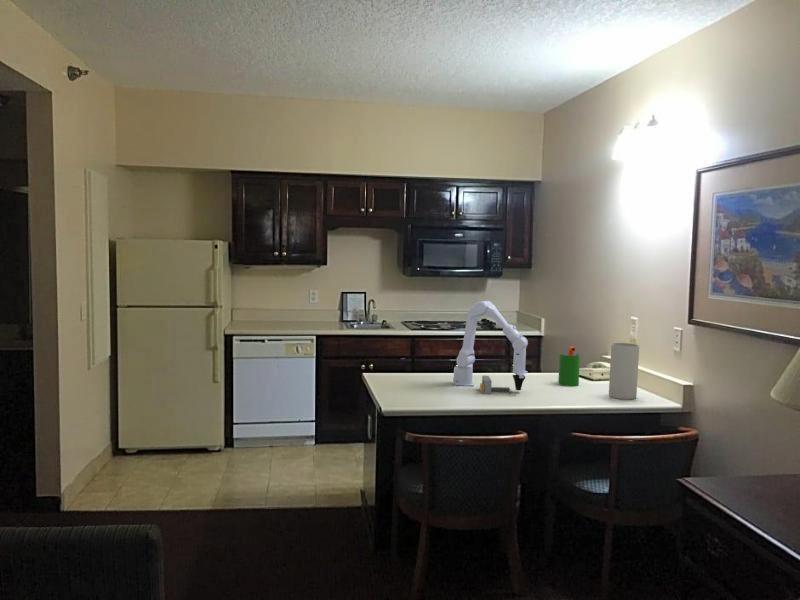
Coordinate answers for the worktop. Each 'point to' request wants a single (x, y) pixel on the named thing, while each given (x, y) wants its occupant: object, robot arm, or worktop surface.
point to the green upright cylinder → (569, 368)
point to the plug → (495, 389)
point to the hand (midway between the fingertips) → (518, 390)
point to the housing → (487, 384)
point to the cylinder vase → (623, 371)
